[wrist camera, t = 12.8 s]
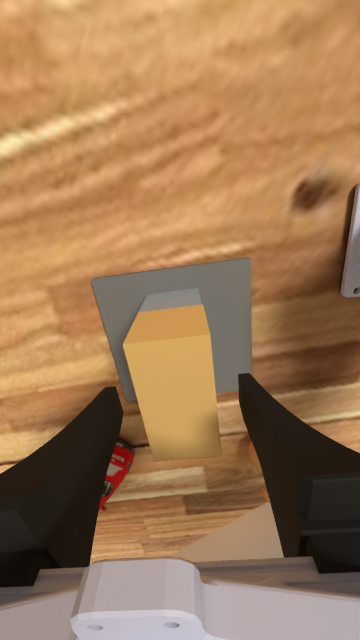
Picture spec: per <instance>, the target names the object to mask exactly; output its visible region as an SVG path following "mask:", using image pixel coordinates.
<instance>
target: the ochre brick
mask: <svg viewBox="0 0 360 640" xmlns="http://www.w3.org/2000/svg"><path fill="white" fill-rule="evenodd" d="M123 348H124V352H125V355H126V359H127V363H128V367H129V370H130V374H131V378H132V382H133V385H134V389H135V393H136V396H137V400H138V404H139V408H140V411H141V415H142V419H143V422H144V426H145V430H146V434H147V437H148V441H149V445H150V449H151V452H152V456H153V460H154V462H155V461H168V460H181V459H193V458H206V457H219V456H222V454H221V444H220V433H219V422H218V411H217V401H216V390H215V379H214V368H213V358H212V347H211V336H210V331H209V327H208V323H207V318H206V314H205V310H204V306H203V304H201V305H193V306H185V307H177V308H169V309H161V310H153V311H144V312H138V314H137V316H136V318H135V320H134V322H133V324H132V326H131V328H130V330H129V332H128V334H127V336H126V339H125V341H124V343H123Z"/></svg>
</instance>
